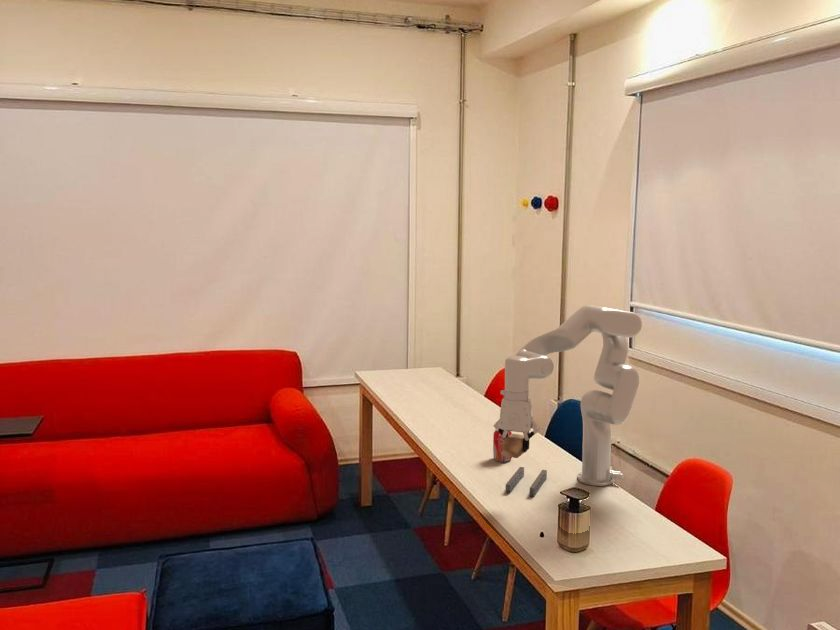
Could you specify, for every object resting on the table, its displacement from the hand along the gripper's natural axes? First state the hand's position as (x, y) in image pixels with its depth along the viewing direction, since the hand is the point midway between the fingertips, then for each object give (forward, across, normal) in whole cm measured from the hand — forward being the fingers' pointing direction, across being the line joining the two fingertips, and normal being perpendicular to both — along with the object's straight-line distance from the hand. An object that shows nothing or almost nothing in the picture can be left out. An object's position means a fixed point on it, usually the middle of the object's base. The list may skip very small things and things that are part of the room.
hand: (516, 449), depth 241 cm
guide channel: (+17, 0, +14) cm, 22 cm away
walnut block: (+1, 0, -1) cm, 2 cm away
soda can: (+18, -15, +36) cm, 43 cm away
